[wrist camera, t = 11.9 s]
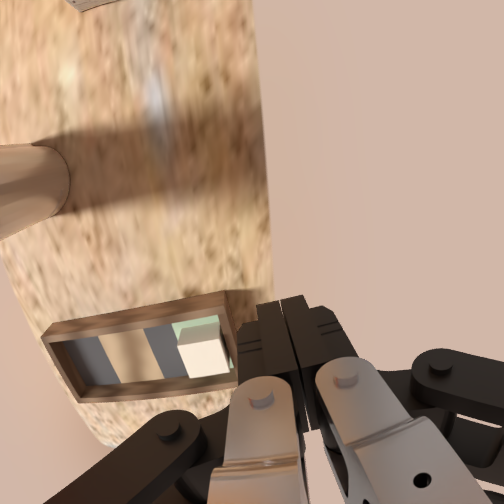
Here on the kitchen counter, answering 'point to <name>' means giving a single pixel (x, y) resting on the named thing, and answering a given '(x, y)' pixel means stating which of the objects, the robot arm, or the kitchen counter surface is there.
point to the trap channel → (138, 351)
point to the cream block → (204, 350)
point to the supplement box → (86, 4)
